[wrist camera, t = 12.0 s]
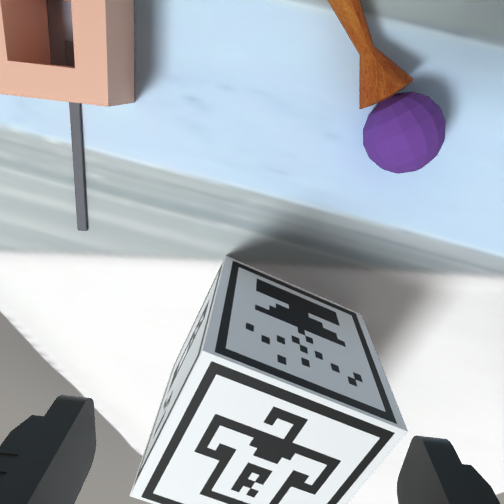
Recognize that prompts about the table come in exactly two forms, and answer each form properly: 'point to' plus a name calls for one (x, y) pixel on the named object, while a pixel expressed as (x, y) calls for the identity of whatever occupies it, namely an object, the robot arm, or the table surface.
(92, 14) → the bead terracotta
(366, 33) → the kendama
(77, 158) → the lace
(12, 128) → the table surface
